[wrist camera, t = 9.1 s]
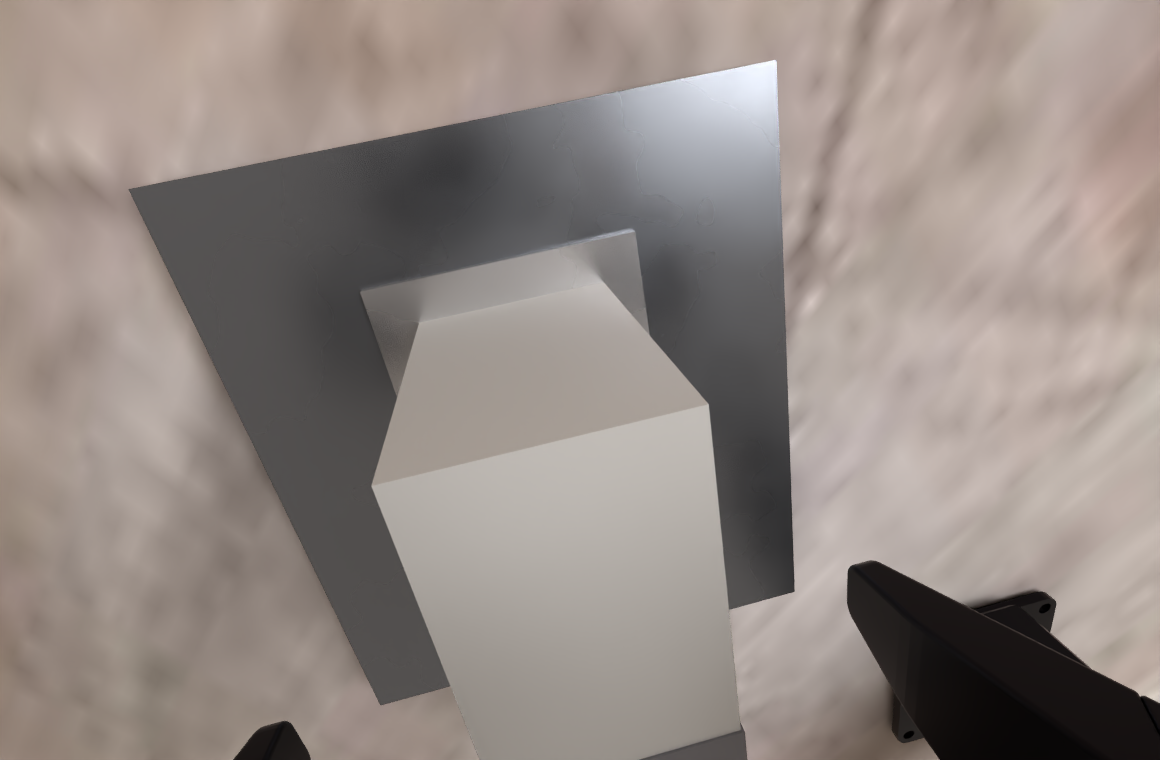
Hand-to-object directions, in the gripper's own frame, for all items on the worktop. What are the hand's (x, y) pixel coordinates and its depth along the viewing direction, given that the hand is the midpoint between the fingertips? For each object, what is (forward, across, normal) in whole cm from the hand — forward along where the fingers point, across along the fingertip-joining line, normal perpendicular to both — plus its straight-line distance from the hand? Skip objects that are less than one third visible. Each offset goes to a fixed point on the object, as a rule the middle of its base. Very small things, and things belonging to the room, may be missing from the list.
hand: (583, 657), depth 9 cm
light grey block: (+7, 0, 0) cm, 7 cm away
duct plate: (+8, 0, 0) cm, 8 cm away
